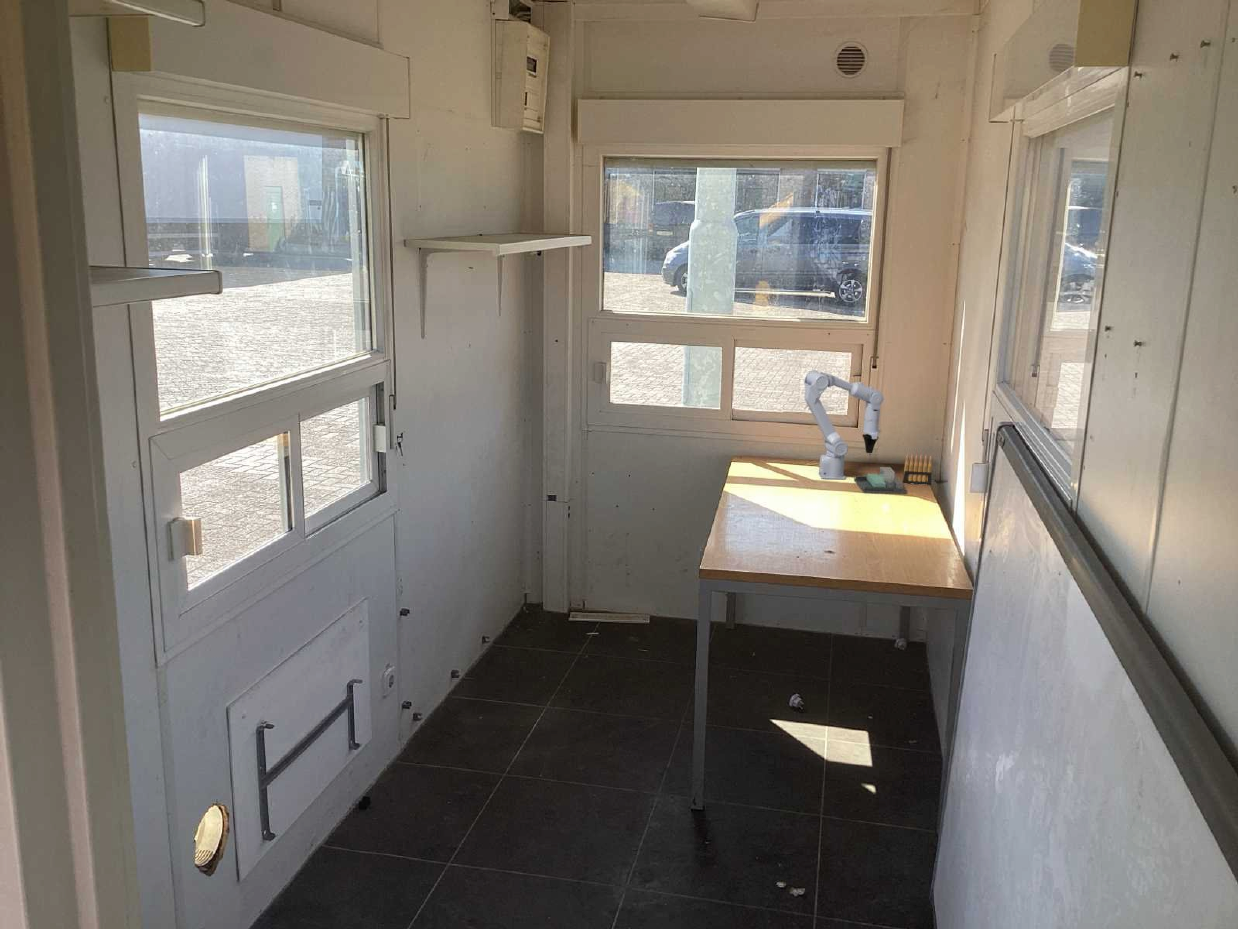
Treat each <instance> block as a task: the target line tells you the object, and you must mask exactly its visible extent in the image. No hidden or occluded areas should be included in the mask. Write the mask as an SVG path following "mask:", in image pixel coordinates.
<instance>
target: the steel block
mask: <svg viewBox="0 0 1238 929" xmlns="http://www.w3.org/2000/svg"><path fill="white" fill-rule="evenodd" d="M895 473H896V471H894V470H893V469H892V467H890V466H889V467H888V466H880V467H879V474H878V475H879V476H880V477H881V479H882V480H883V481H884V482H885V483H886V487H893V486H894V475H895Z"/></svg>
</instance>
